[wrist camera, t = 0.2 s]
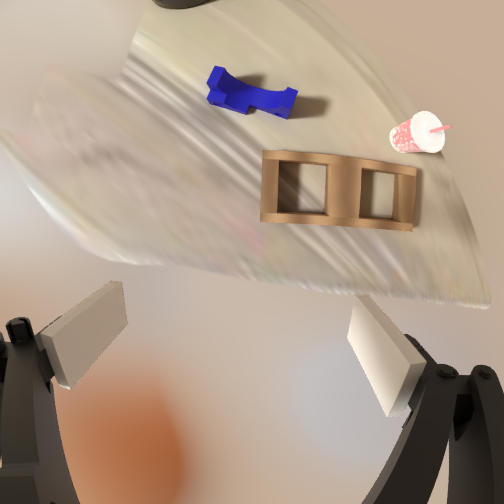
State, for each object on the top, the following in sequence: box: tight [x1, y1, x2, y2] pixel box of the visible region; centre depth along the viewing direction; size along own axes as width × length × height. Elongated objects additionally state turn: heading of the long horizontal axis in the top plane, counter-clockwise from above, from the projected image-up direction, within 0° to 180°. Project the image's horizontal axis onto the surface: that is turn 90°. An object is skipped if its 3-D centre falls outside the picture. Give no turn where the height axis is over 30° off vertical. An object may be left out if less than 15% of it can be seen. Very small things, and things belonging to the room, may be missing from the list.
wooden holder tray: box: [260, 150, 416, 232], centre depth 38 cm, size 24×10×4 cm, turn 88°
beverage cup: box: [390, 111, 452, 153], centre depth 30 cm, size 6×6×14 cm
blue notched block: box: [207, 66, 298, 119], centre depth 34 cm, size 12×4×6 cm, turn 70°
